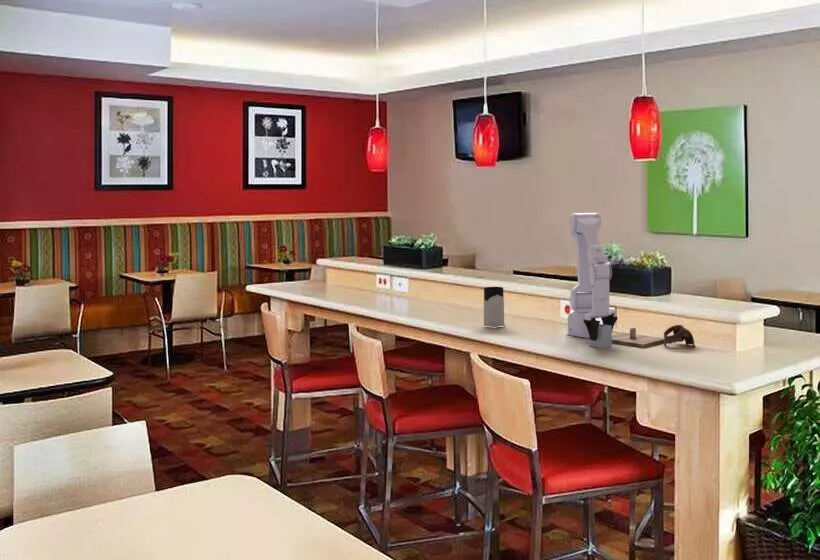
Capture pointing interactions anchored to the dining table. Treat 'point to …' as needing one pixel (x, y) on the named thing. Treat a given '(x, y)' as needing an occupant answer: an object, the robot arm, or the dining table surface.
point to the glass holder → (493, 306)
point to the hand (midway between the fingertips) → (600, 338)
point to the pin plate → (635, 339)
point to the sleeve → (602, 337)
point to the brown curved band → (678, 335)
